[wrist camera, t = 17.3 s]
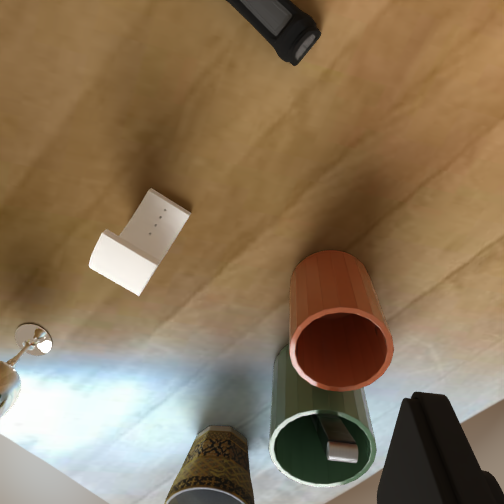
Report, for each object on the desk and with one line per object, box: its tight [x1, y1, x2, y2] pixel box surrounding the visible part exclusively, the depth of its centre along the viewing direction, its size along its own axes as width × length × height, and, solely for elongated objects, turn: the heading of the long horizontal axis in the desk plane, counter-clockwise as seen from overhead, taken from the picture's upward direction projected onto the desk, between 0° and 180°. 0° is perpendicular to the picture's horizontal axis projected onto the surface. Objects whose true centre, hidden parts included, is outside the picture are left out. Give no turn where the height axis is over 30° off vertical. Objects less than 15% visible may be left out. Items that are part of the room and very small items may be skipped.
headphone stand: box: [89, 188, 191, 296], centre depth 38 cm, size 5×6×12 cm
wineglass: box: [0, 324, 52, 419], centre depth 45 cm, size 6×6×12 cm
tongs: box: [310, 414, 358, 463], centre depth 40 cm, size 2×10×18 cm, turn 176°
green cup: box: [269, 344, 377, 487], centre depth 44 cm, size 10×10×11 cm
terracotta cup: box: [289, 250, 394, 392], centre depth 40 cm, size 8×8×11 cm
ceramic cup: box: [165, 425, 254, 504], centre depth 51 cm, size 13×10×10 cm
